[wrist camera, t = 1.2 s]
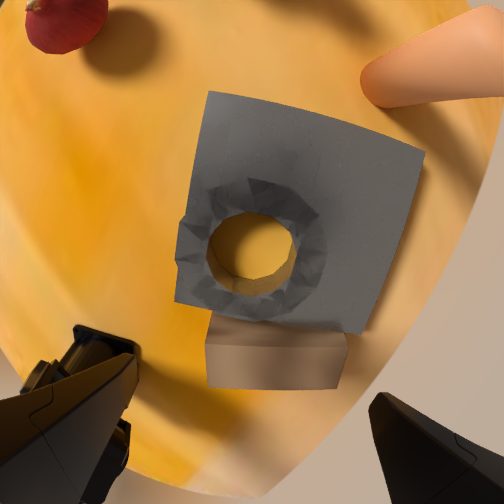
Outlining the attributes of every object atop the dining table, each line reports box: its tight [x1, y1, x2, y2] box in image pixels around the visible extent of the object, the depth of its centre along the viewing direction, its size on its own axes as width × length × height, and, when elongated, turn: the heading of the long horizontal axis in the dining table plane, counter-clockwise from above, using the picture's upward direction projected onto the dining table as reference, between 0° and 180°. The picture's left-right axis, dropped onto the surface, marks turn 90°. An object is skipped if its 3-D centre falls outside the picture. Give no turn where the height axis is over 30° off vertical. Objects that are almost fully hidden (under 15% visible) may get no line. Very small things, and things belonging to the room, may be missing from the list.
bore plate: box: [174, 91, 425, 335], centre depth 20 cm, size 14×14×2 cm
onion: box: [25, 0, 108, 54], centre depth 12 cm, size 6×6×8 cm
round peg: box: [360, 5, 504, 109], centre depth 11 cm, size 4×4×12 cm
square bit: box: [205, 311, 349, 390], centre depth 23 cm, size 10×4×4 cm, turn 88°
